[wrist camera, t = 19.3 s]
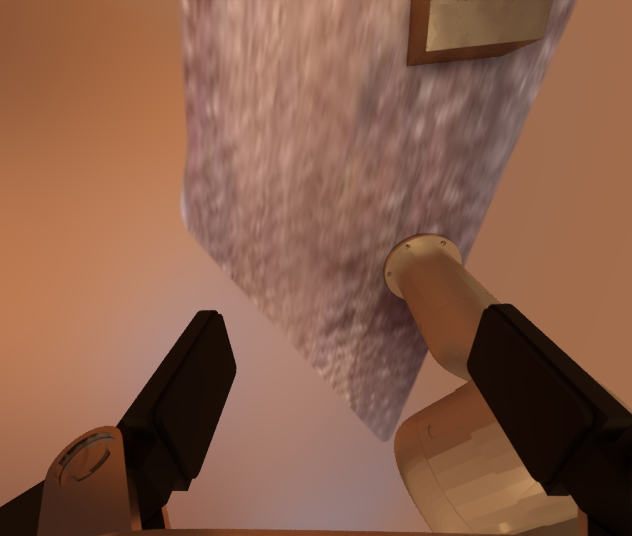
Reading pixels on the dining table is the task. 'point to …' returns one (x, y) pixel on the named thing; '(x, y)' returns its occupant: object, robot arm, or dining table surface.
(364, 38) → the dining table surface
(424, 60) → the block
